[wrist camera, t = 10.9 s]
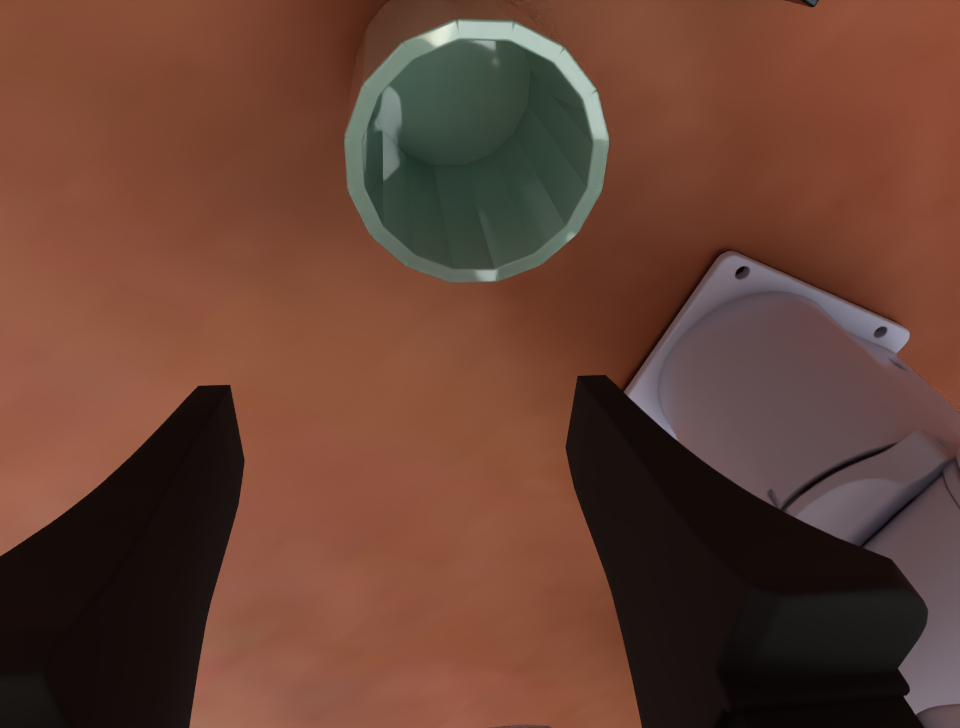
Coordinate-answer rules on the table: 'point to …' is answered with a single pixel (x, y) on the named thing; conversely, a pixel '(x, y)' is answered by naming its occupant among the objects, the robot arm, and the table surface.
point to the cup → (471, 139)
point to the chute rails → (805, 2)
